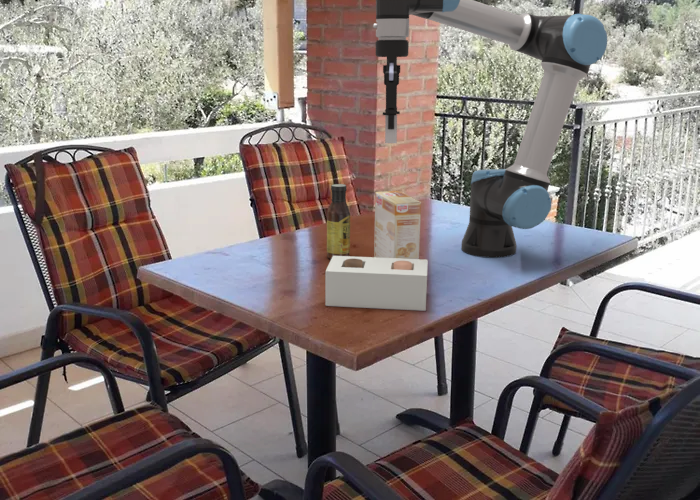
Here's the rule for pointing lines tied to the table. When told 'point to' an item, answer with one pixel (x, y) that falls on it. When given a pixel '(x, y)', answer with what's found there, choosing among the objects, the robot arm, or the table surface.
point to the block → (376, 284)
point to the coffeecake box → (396, 225)
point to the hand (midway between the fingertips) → (390, 142)
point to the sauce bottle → (338, 223)
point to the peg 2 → (403, 265)
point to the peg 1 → (354, 263)
